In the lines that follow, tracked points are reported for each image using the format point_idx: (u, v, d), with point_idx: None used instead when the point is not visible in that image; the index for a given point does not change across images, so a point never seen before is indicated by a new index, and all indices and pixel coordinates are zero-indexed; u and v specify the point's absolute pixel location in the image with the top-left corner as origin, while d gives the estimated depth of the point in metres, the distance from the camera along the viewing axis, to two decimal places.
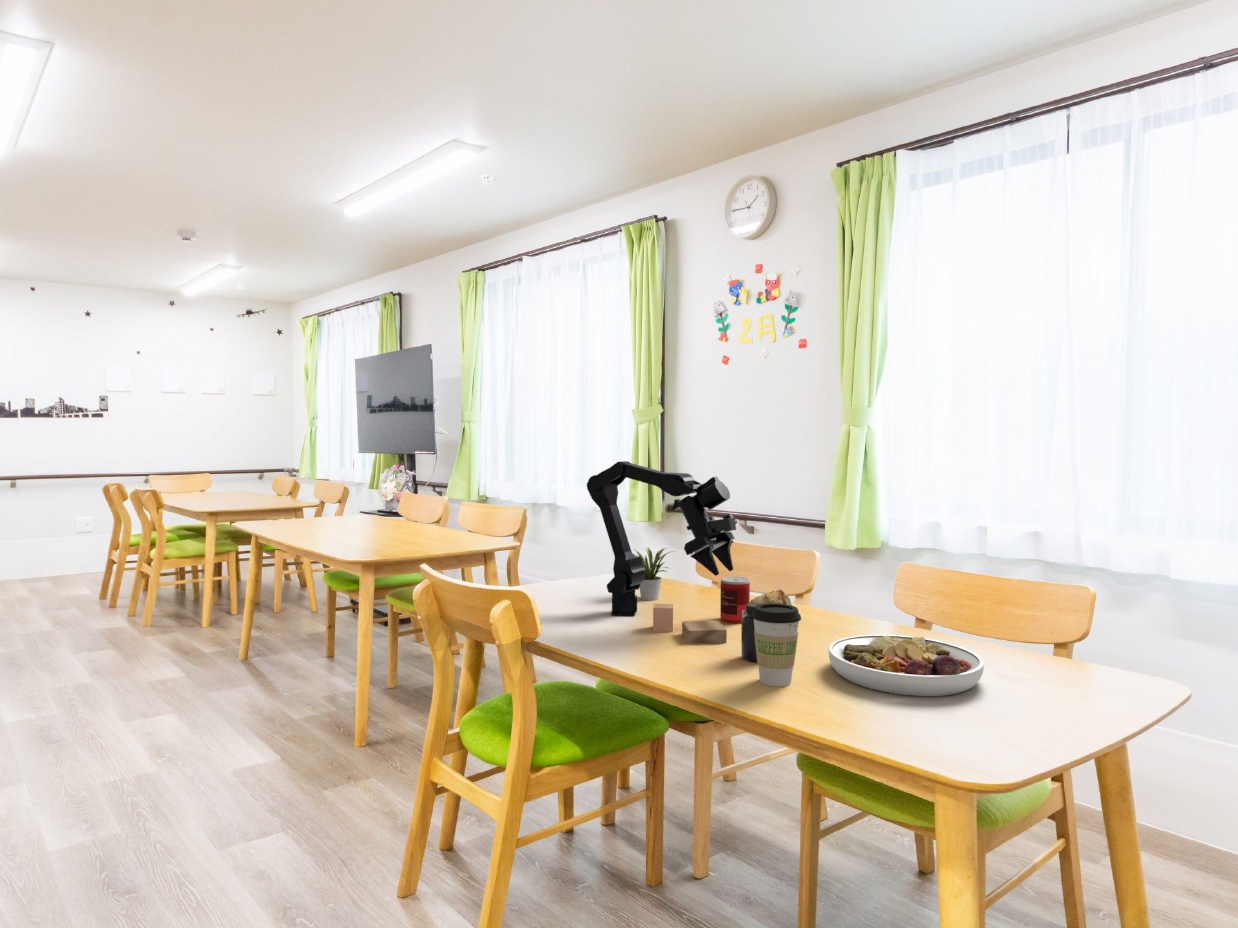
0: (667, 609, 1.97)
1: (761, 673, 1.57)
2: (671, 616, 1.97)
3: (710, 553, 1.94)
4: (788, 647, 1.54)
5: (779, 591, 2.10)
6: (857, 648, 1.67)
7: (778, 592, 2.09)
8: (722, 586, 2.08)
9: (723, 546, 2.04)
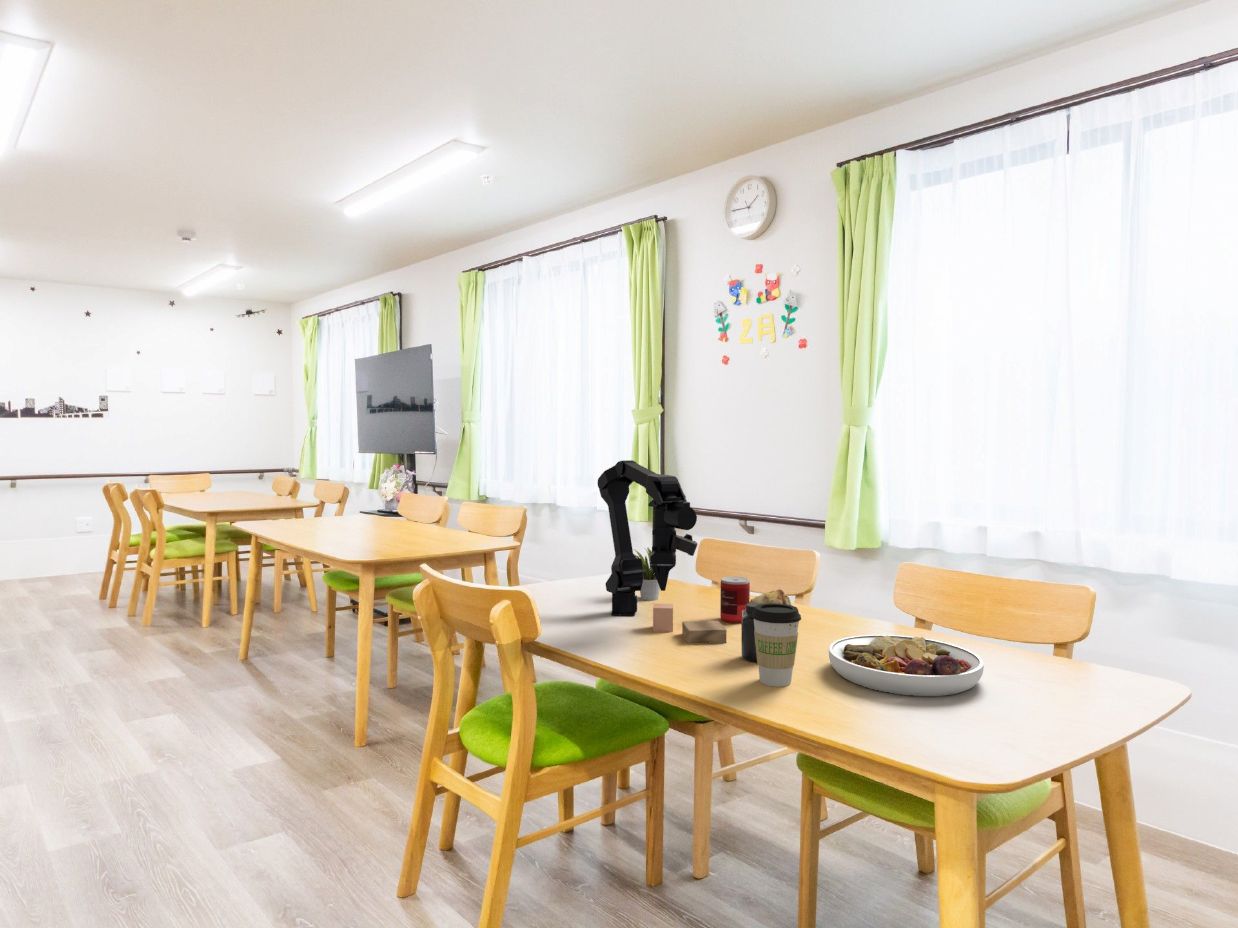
0: (667, 609, 1.97)
1: (761, 673, 1.57)
2: (671, 616, 1.97)
3: (669, 570, 1.93)
4: (788, 647, 1.54)
5: (779, 591, 2.10)
6: (857, 648, 1.67)
7: (778, 592, 2.09)
8: (722, 586, 2.08)
9: None
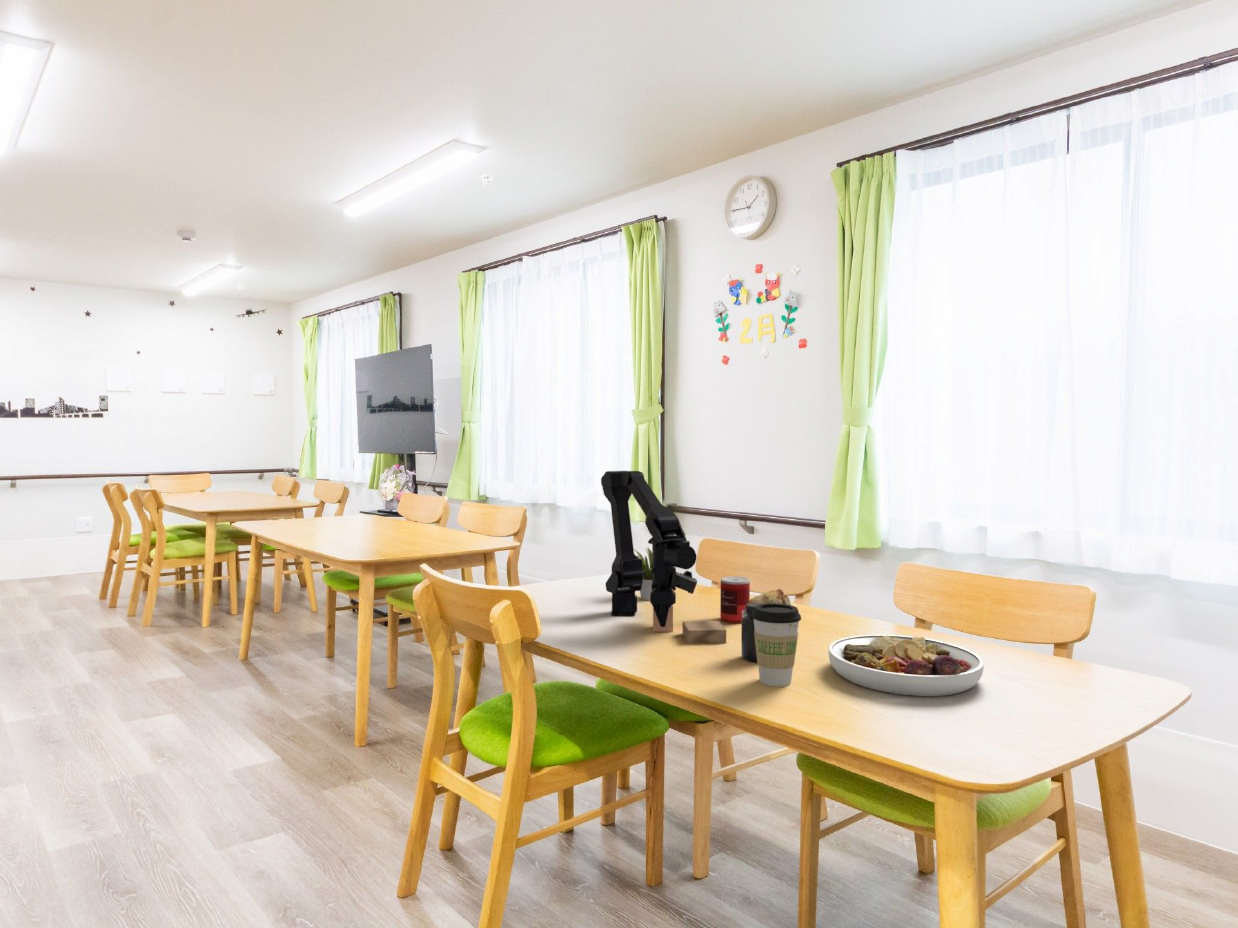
0: None
1: (761, 673, 1.57)
2: (671, 616, 1.97)
3: None
4: (788, 647, 1.54)
5: (778, 590, 2.11)
6: (857, 648, 1.67)
7: (778, 592, 2.10)
8: (722, 586, 2.08)
9: None
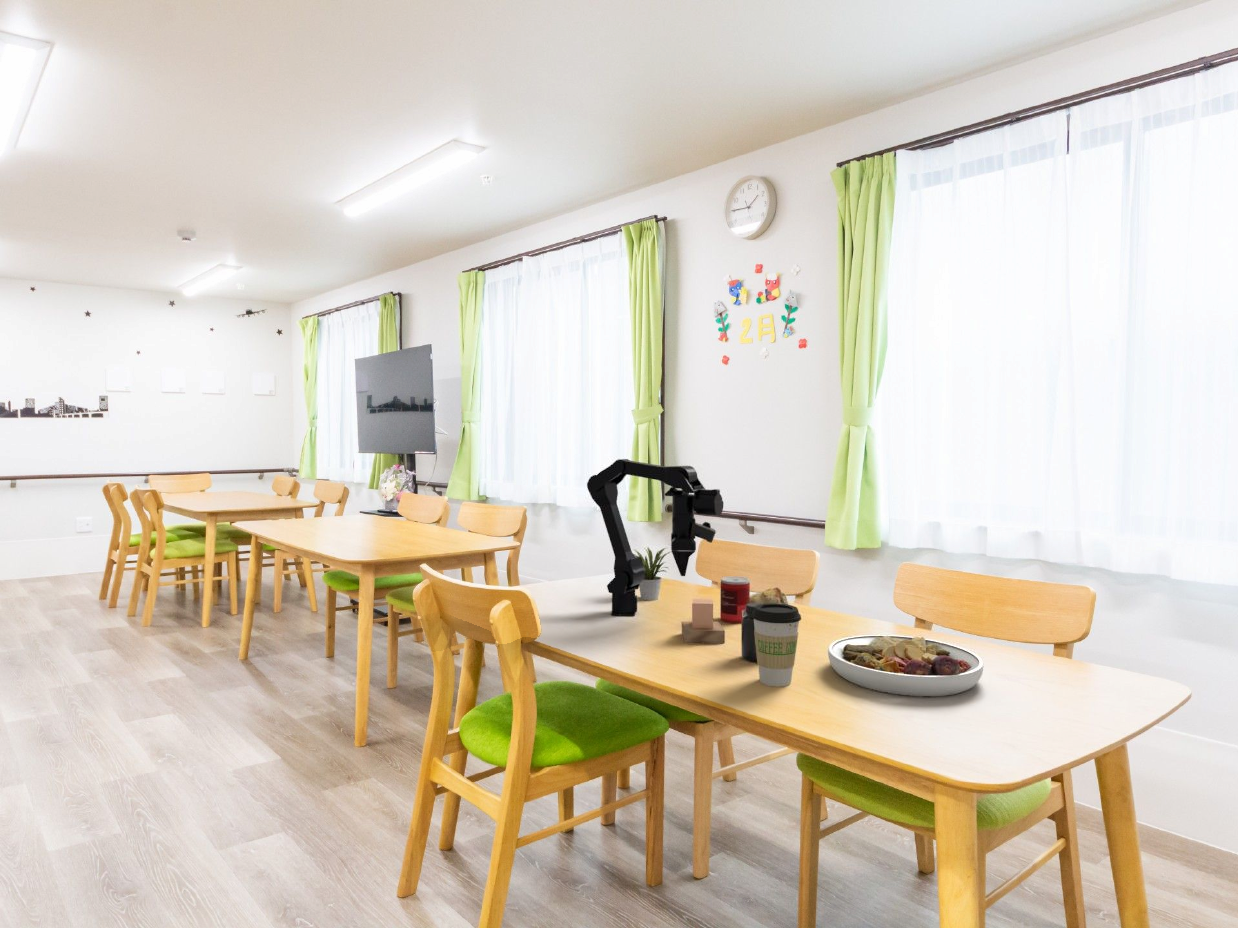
0: (707, 605, 1.88)
1: (761, 673, 1.57)
2: (711, 612, 1.88)
3: (689, 556, 2.00)
4: (788, 647, 1.54)
5: (776, 589, 2.13)
6: (857, 648, 1.67)
7: (775, 590, 2.12)
8: (722, 586, 2.08)
9: None
